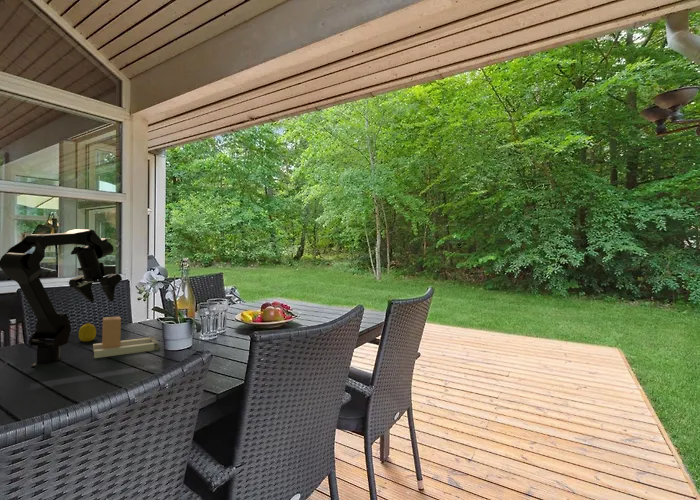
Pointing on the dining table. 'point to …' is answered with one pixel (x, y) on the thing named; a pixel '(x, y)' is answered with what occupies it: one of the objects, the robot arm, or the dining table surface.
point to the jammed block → (111, 332)
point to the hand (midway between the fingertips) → (102, 301)
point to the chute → (126, 347)
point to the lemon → (87, 332)
